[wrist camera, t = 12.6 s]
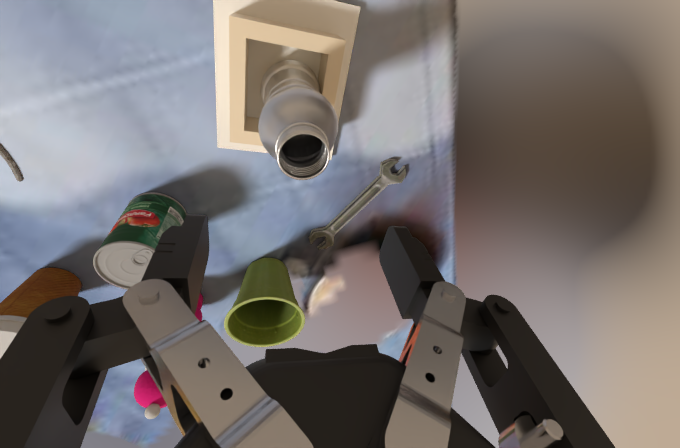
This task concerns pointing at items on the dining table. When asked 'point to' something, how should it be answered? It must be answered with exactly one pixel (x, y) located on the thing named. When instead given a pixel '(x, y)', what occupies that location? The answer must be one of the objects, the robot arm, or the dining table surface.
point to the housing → (275, 56)
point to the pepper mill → (147, 388)
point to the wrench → (358, 203)
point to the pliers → (11, 163)
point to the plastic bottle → (296, 120)
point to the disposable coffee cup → (33, 299)
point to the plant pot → (265, 307)
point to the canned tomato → (136, 238)
